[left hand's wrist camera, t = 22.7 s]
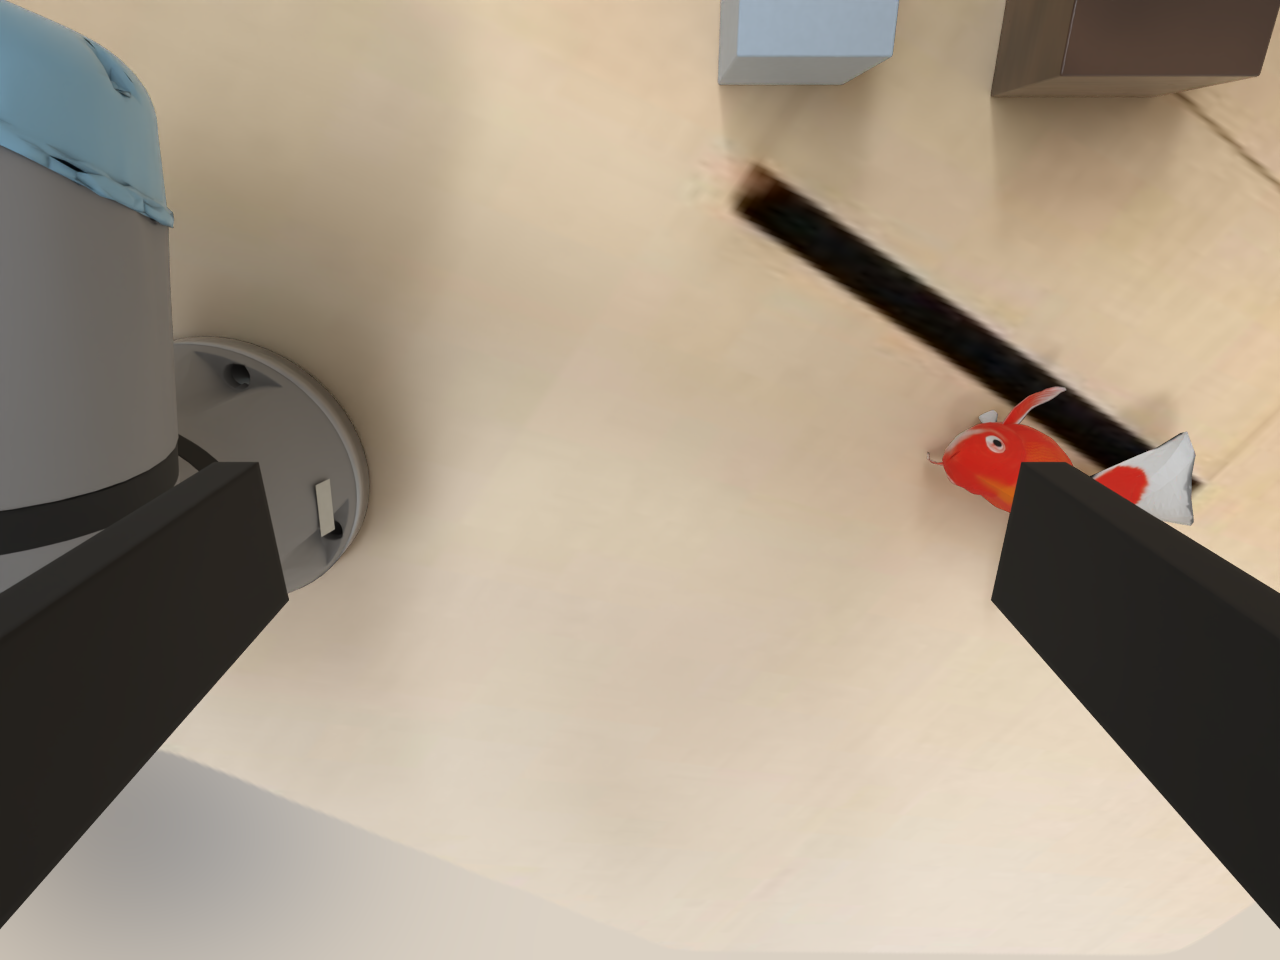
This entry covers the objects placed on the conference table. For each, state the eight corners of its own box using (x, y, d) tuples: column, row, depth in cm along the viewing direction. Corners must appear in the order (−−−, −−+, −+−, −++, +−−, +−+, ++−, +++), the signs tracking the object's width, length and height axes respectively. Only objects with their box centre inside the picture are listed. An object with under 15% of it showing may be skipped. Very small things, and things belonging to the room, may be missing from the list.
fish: (1077, 279, 32) (1207, 448, 26) (1170, 414, 41) (1281, 561, 35) (875, 409, 38) (943, 570, 32) (996, 502, 47) (1066, 640, 41)
